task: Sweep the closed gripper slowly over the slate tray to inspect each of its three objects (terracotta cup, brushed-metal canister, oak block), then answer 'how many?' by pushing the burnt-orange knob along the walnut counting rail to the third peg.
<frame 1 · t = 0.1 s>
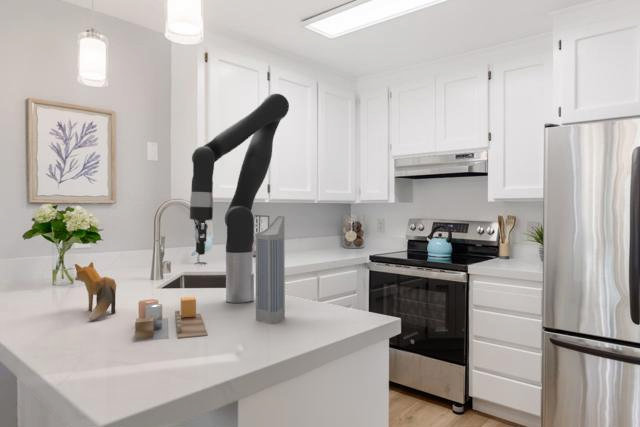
hand: (200, 253, 148), 17 cm above the counter, tool pointing down, fingers open, 8 cm apart
building model: (270, 320, 126), on the counter
metal canister: (154, 328, 113), point 1 cm above the counter, touching slate tray
counter knob: (188, 306, 124), point 4 cm above the counter, slide at 0.0 cm
oak block: (144, 336, 106), point 1 cm above the counter, touching slate tray
counting rail: (190, 329, 116), on the counter
slate tray: (152, 333, 113), on the counter
toy: (95, 315, 133), on the counter
terracotta cup: (148, 323, 118), point 1 cm above the counter, touching slate tray
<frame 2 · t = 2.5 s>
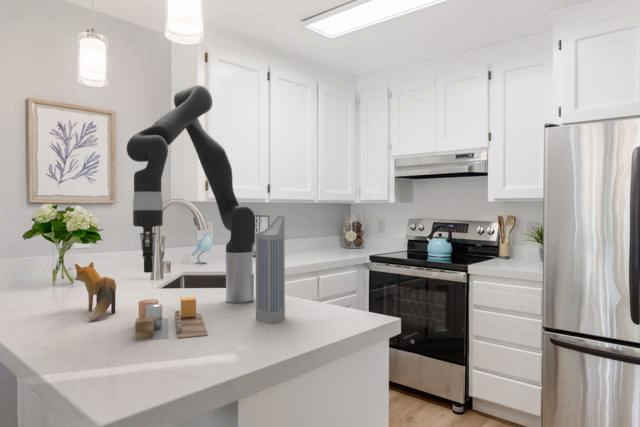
hand: (148, 272, 119), 15 cm above the counter, tool pointing down, fingers closed
nothing on the counter moved.
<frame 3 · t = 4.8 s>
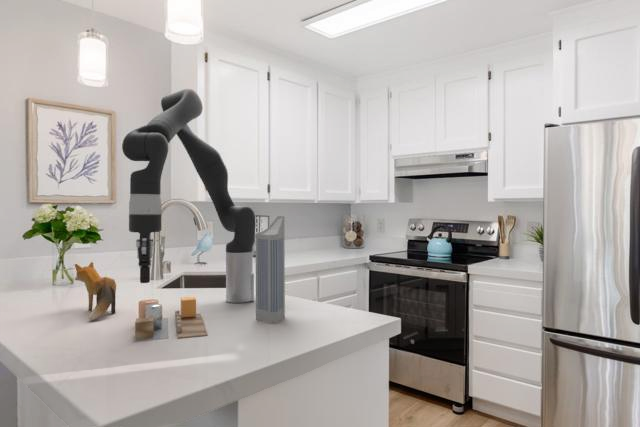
hand: (145, 282, 108), 14 cm above the counter, tool pointing down, fingers closed
nothing on the counter moved.
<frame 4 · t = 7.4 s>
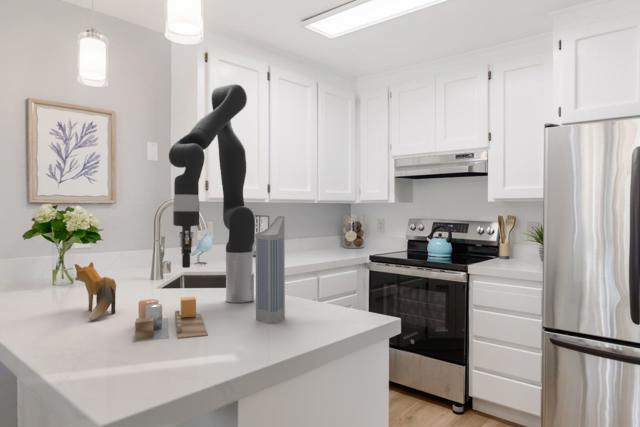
hand: (186, 267, 131), 15 cm above the counter, tool pointing down, fingers closed
nothing on the counter moved.
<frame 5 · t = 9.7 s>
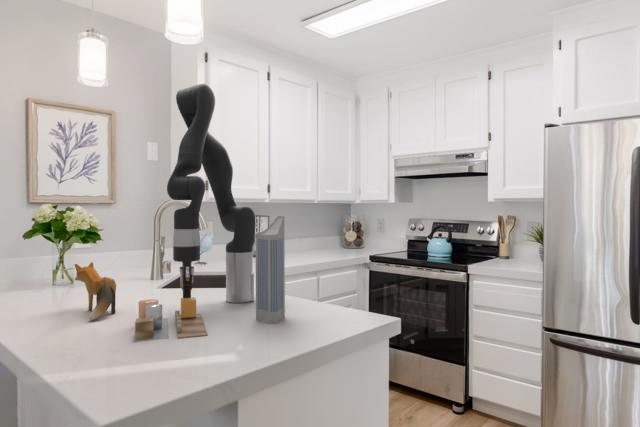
hand: (186, 303, 127), 5 cm above the counter, tool pointing down, fingers closed
counter knob: (188, 307, 124), point 4 cm above the counter, slide at 0.7 cm, touching gripper
everything else where it was.
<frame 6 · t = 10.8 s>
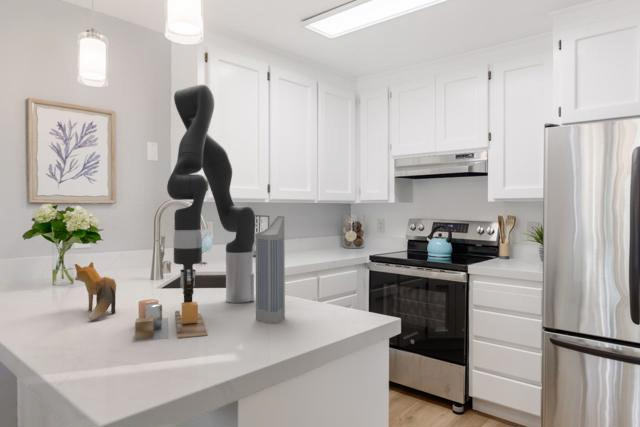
hand: (188, 308, 121), 5 cm above the counter, tool pointing down, fingers closed
counter knob: (189, 312, 118), point 4 cm above the counter, slide at 7.1 cm, touching gripper
everything else where it was.
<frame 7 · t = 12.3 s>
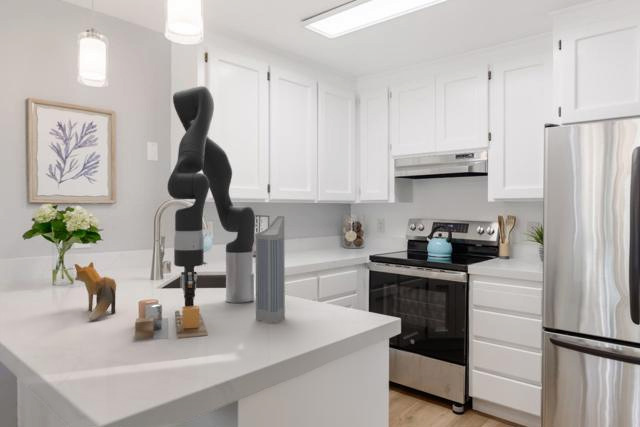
hand: (189, 312, 116), 5 cm above the counter, tool pointing down, fingers closed
counter knob: (190, 316, 113), point 4 cm above the counter, slide at 12.3 cm, touching gripper
everything else where it was.
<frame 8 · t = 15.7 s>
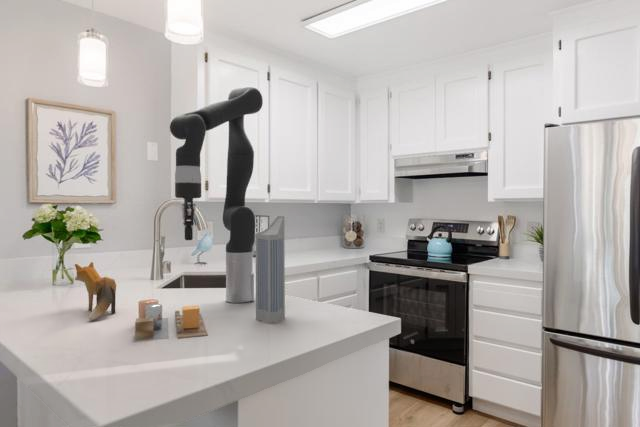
hand: (188, 239, 130), 23 cm above the counter, tool pointing down, fingers closed
counter knob: (190, 316, 113), point 4 cm above the counter, slide at 12.3 cm
everything else where it was.
at the end: counter knob slide at 12.3 cm; metal canister moved 0.0 cm from its start; oak block moved 0.0 cm from its start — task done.
